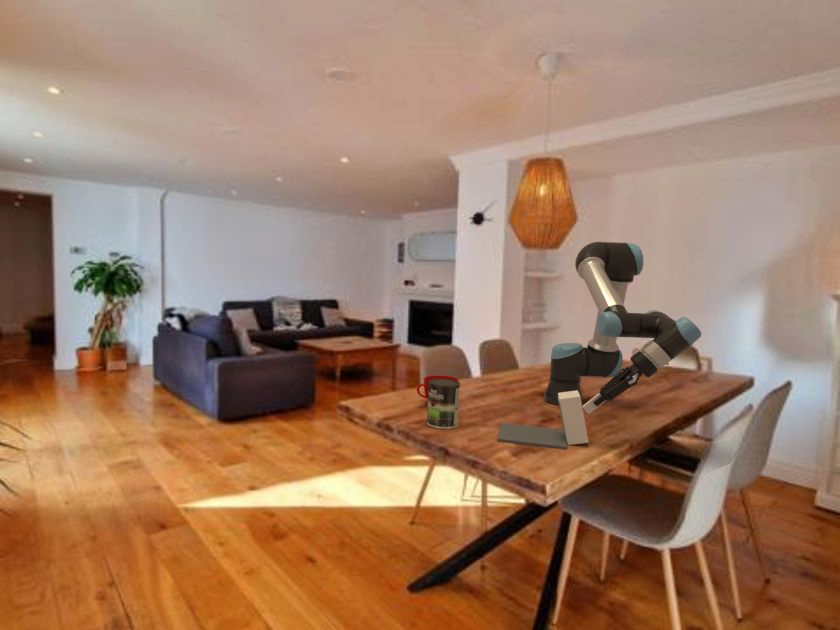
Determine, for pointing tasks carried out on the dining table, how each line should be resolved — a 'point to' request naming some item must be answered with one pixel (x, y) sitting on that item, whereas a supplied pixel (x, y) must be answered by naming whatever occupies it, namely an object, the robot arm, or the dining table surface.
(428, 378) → the ceramic cup
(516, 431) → the charcoal mat
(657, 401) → the dining table surface
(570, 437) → the cream block
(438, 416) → the coffee can
